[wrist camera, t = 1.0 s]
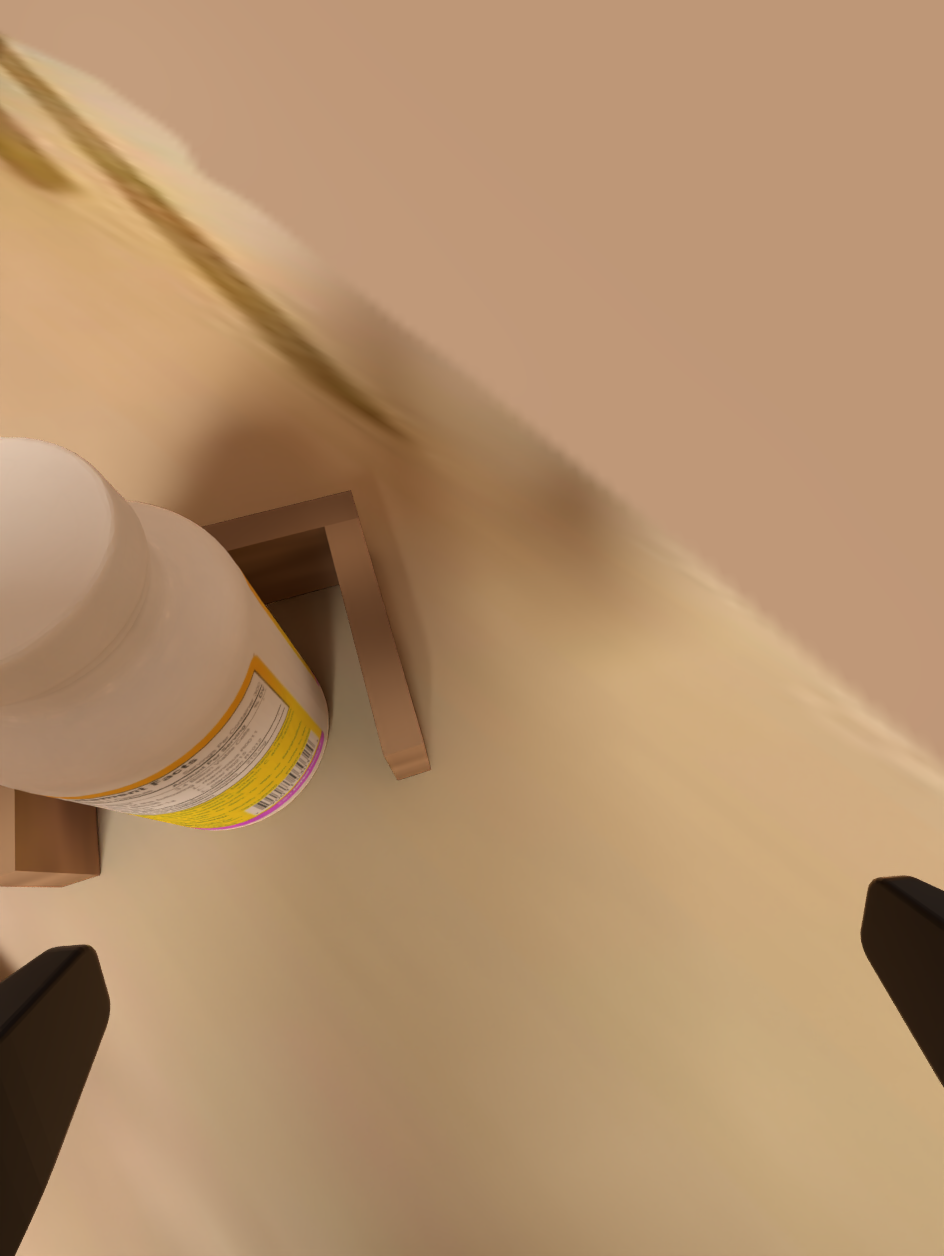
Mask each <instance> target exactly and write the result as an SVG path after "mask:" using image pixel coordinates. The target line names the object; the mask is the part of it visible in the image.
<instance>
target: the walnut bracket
mask: <svg viewBox="0 0 944 1256" xmlns="http://www.w3.org/2000/svg"><path fill="white" fill-rule="evenodd" d="M202 528H203V529H205V530H206V531H207V532H208V533H209V534H210V535H212V536H213V537H214V538H215V539H216V540H217V541H218V542H219V543H220V544H221V545H222V546H223V547H224V549H225V550H226V551H227V552H228V553H229V555H230V556H231V558H232V559H233V560H234V562H235V563H236V564H237V565H238V567H239V568H240V569H241V571H242V572H243V574H244V575H245V577H246V579H247V580H248V582H249V583H250V585H251V586H252V587H253V589H254V590H255V592H256V593H257V595H258V596H259V598H260V599H261V601H262V602H263V603H264V604H267V603H271V602H275V601H279V600H282V599H286V598H290V597H294V596H297V595H301V594H305V593H309V592H312V591H316V590H320V589H324V588H327V587H331V586H335V585H340V589H341V593H342V597H343V600H344V604H345V608H346V612H347V616H348V620H349V624H350V627H351V631H352V635H353V639H354V643H355V647H356V650H357V654H358V658H359V662H360V666H361V670H362V674H363V677H364V681H365V685H366V689H367V693H368V697H369V701H370V704H371V708H372V712H373V716H374V720H375V724H376V728H377V731H378V735H379V739H380V743H381V747H382V751H383V755H384V757H385V759H386V761H387V762H388V764H389V766H390V768H391V769H392V771H393V773H394V775H395V776H396V778H397V780H400V779H403V778H407V777H410V776H413V775H416V774H419V773H422V772H425V771H429V770H431V768H430V764H429V761H428V757H427V753H426V749H425V745H424V741H423V738H422V734H421V731H420V727H419V724H418V721H417V717H416V714H415V710H414V707H413V703H412V700H411V696H410V693H409V689H408V686H407V683H406V679H405V676H404V672H403V669H402V665H401V662H400V658H399V655H398V651H397V648H396V645H395V641H394V638H393V634H392V631H391V627H390V624H389V620H388V617H387V613H386V610H385V607H384V603H383V600H382V596H381V593H380V589H379V586H378V582H377V579H376V576H375V572H374V569H373V565H372V562H371V558H370V555H369V551H368V548H367V544H366V541H365V538H364V534H363V531H362V527H361V524H360V520H359V517H358V513H357V510H356V506H355V503H354V500H353V496H352V493H351V490H350V491H346V492H342V493H338V494H334V495H330V496H326V497H322V498H318V499H314V500H310V501H306V502H302V503H297V504H293V505H289V506H285V507H281V508H277V509H273V510H269V511H265V512H261V513H257V514H253V515H249V516H244V517H240V518H236V519H232V520H228V521H224V522H220V523H216V524H212V525H208V526H204V527H202ZM98 875H100V868H99V851H98V834H97V818H96V807H95V806H91V805H86V804H81V803H77V802H72V801H66V800H62V799H57V798H52V797H47V796H43V795H38V794H33V793H29V792H25V791H21V790H17V789H13V788H9V787H5V786H2V785H0V886H5V887H64V886H67V885H70V884H73V883H76V882H79V881H83V880H86V879H89V878H92V877H95V876H98Z"/></svg>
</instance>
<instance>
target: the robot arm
mask: <svg viewBox="0 0 944 1256" xmlns="http://www.w3.org/2000/svg"><path fill="white" fill-rule="evenodd" d="M861 942H862V946H863V949H864V952H865V954H866V956H867V958H868V960H869V962H870V963H871V965H872V967H873V969H874V970H875V972H876V974H877V975H878V977H879V979H880V981H881V982H882V984H883V986H884V987H885V989H886V991H887V992H888V994H889V996H890V998H891V999H892V1001H893V1003H894V1004H895V1006H896V1008H897V1009H898V1011H899V1013H900V1015H901V1016H902V1018H903V1020H904V1021H905V1023H906V1025H907V1026H908V1028H909V1030H910V1032H911V1033H912V1035H913V1037H914V1038H915V1040H916V1042H917V1043H918V1045H919V1047H920V1049H921V1050H922V1052H923V1054H924V1055H925V1057H926V1059H927V1061H928V1062H929V1064H930V1066H931V1067H932V1069H933V1071H934V1072H935V1074H936V1076H937V1077H938V1079H939V1081H940V1082H941V1084H942V1085H943V1087H944V891H943V890H941V889H938V888H936V887H934V886H932V885H930V884H928V883H925V882H923V881H921V880H919V879H917V878H914V877H911V876H891V877H879V878H876V879H874V880H873V881H872V882H871V883H870V884H869V887H868V891H867V897H866V903H865V908H864V914H863V920H862V926H861ZM109 1015H110V999H109V994H108V991H107V987H106V984H105V980H104V977H103V973H102V970H101V966H100V963H99V959H98V956H97V953H96V951H95V950H94V949H93V948H92V947H91V946H89V945H72V946H60V947H55V948H51V949H49V950H47V951H45V952H43V953H42V954H40V955H39V956H38V957H36V958H35V959H33V960H32V961H30V962H29V963H27V964H26V965H25V966H23V967H22V968H20V969H19V970H17V971H16V972H15V973H13V974H12V975H10V976H9V977H7V978H6V979H4V980H3V981H2V982H0V1256H15V1254H16V1252H17V1250H18V1248H19V1246H20V1244H21V1241H22V1239H23V1237H24V1235H25V1233H26V1231H27V1229H28V1226H29V1224H30V1222H31V1220H32V1217H33V1215H34V1213H35V1211H36V1209H37V1206H38V1204H39V1202H40V1200H41V1197H42V1195H43V1193H44V1190H45V1188H46V1185H47V1183H48V1180H49V1178H50V1175H51V1173H52V1171H53V1168H54V1166H55V1163H56V1160H57V1158H58V1155H59V1152H60V1150H61V1147H62V1144H63V1142H64V1139H65V1136H66V1134H67V1131H68V1128H69V1126H70V1123H71V1120H72V1118H73V1115H74V1112H75V1110H76V1107H77V1104H78V1102H79V1099H80V1096H81V1094H82V1091H83V1088H84V1086H85V1083H86V1080H87V1078H88V1075H89V1072H90V1070H91V1067H92V1064H93V1062H94V1059H95V1056H96V1054H97V1051H98V1048H99V1046H100V1043H101V1040H102V1038H103V1035H104V1032H105V1030H106V1027H107V1023H108V1020H109Z"/></svg>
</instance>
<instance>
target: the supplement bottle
mask: <svg viewBox="0 0 944 1256" xmlns="http://www.w3.org/2000/svg"><path fill="white" fill-rule="evenodd" d="M328 731H329V714H328V708H327V703H326V700H325V696H324V693H323V691H322V689H321V686H320V685H319V683H318V681H317V679H316V677H315V676H314V674H313V672H312V671H311V670H310V668H309V667H308V665H307V664H306V662H305V661H304V659H303V658H302V657H301V655H300V654H299V653H298V651H297V650H296V649H295V647H294V646H293V644H292V643H291V641H290V640H289V639H288V637H287V636H286V634H285V633H284V631H283V630H282V629H281V627H280V626H279V625H278V623H277V622H276V620H275V619H274V617H273V616H272V614H271V613H270V612H269V610H268V609H267V608H266V606H265V605H264V603H263V602H262V601H261V599H260V598H259V596H258V595H257V593H256V592H255V590H254V589H253V587H252V586H251V585H250V583H249V582H248V580H247V579H246V577H245V575H244V574H243V572H242V571H241V569H240V568H239V567H238V565H237V564H236V563H235V562H234V560H233V559H232V558H231V556H230V555H229V553H228V552H227V551H226V550H225V549H224V547H223V546H222V545H221V544H220V543H219V542H218V541H217V540H216V539H215V538H214V537H213V536H212V535H210V534H209V533H208V532H207V531H206V530H205V529H203V528H202V527H200V526H198V525H197V524H195V523H194V522H192V521H191V520H189V519H187V518H185V517H183V516H181V515H179V514H177V513H175V512H172V511H170V510H167V509H164V508H161V507H158V506H154V505H150V504H146V503H141V502H135V501H127V500H125V499H124V498H123V497H122V496H121V495H120V494H119V493H118V492H117V491H116V490H115V489H114V488H113V486H112V485H111V484H110V483H109V482H108V481H107V480H106V479H105V478H104V477H103V476H102V475H101V474H100V473H99V472H98V471H97V470H96V469H95V468H94V467H93V466H92V465H91V464H90V463H89V462H87V461H86V460H85V459H83V458H82V457H80V456H79V455H77V454H76V453H74V452H72V451H70V450H68V449H66V448H64V447H62V446H59V445H56V444H53V443H50V442H46V441H43V440H38V439H31V438H24V437H0V785H2V786H5V787H9V788H13V789H17V790H21V791H25V792H29V793H33V794H38V795H43V796H47V797H52V798H57V799H62V800H66V801H72V802H77V803H81V804H86V805H91V806H95V807H99V808H104V809H109V810H113V811H118V812H122V813H126V814H131V815H136V816H140V817H144V818H149V819H154V820H158V821H163V822H167V823H172V824H176V825H181V826H186V827H191V828H196V829H205V830H230V829H235V828H240V827H244V826H248V825H251V824H254V823H257V822H259V821H262V820H264V819H266V818H268V817H270V816H271V815H273V814H275V813H276V812H278V811H280V810H281V809H282V808H284V807H285V806H286V805H288V804H289V803H290V802H291V801H292V800H293V799H294V798H295V797H296V796H297V795H298V794H300V792H301V791H302V790H303V789H304V788H305V786H306V785H307V784H308V782H309V781H310V780H311V778H312V777H313V775H314V773H315V772H316V770H317V768H318V766H319V764H320V762H321V759H322V757H323V754H324V751H325V747H326V743H327V738H328Z"/></svg>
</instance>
